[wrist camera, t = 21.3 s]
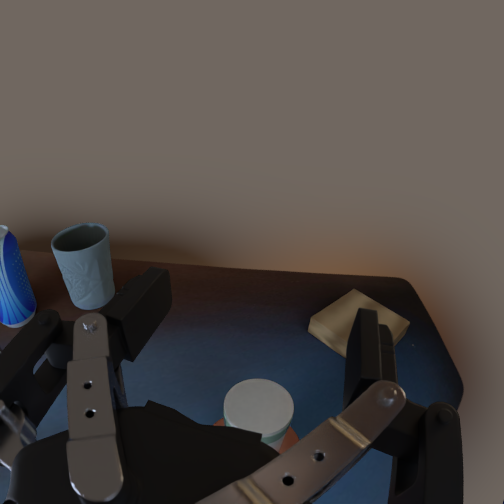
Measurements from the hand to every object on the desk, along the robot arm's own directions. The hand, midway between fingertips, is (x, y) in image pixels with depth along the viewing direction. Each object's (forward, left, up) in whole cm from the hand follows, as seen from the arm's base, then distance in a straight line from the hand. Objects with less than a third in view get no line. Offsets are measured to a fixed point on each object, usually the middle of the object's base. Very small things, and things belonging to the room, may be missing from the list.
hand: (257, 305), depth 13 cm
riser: (+7, -30, -26) cm, 41 cm away
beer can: (+43, +16, -26) cm, 53 cm away
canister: (+3, -4, -25) cm, 26 cm away
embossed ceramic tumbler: (+41, +1, -26) cm, 49 cm away
